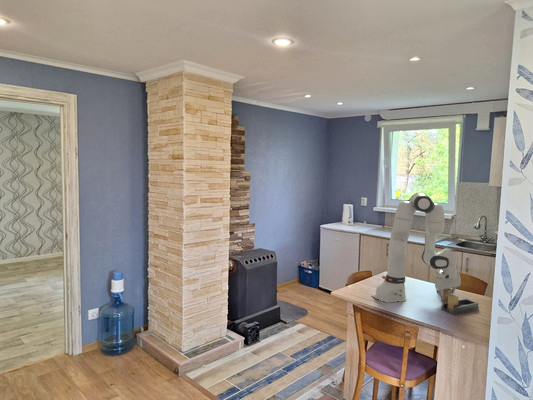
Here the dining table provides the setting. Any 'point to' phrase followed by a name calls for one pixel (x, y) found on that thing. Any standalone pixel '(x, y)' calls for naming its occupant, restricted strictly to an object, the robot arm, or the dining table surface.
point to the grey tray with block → (459, 305)
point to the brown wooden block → (446, 294)
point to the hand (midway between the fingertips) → (447, 294)
